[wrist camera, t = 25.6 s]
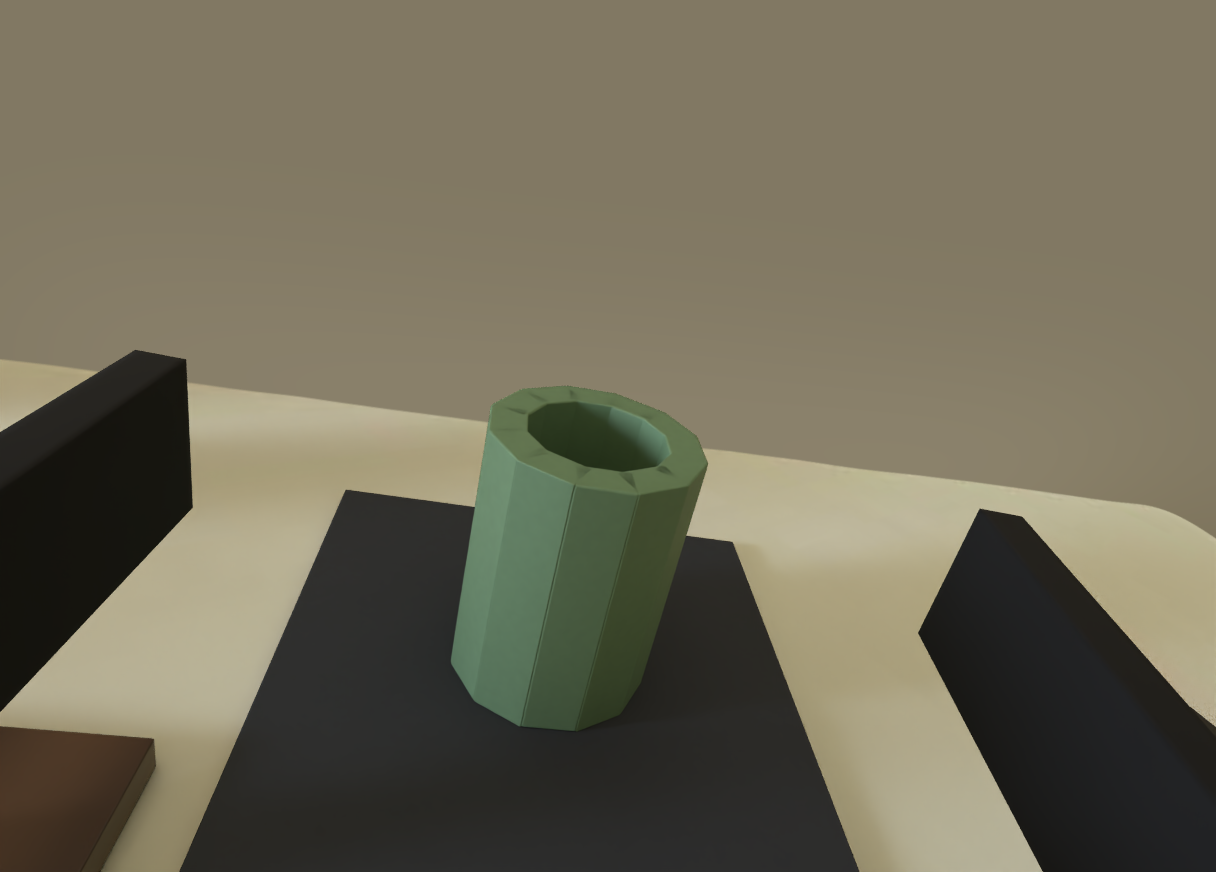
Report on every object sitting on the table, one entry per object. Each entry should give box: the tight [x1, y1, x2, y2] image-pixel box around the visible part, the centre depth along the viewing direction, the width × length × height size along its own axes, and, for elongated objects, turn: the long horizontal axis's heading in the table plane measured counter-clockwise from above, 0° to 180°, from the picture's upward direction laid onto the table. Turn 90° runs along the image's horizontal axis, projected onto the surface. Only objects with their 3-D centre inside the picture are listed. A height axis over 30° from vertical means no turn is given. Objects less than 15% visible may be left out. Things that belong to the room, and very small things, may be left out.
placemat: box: [180, 490, 859, 872], centre depth 30 cm, size 20×20×1 cm
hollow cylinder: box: [451, 386, 708, 732], centre depth 28 cm, size 7×7×10 cm
